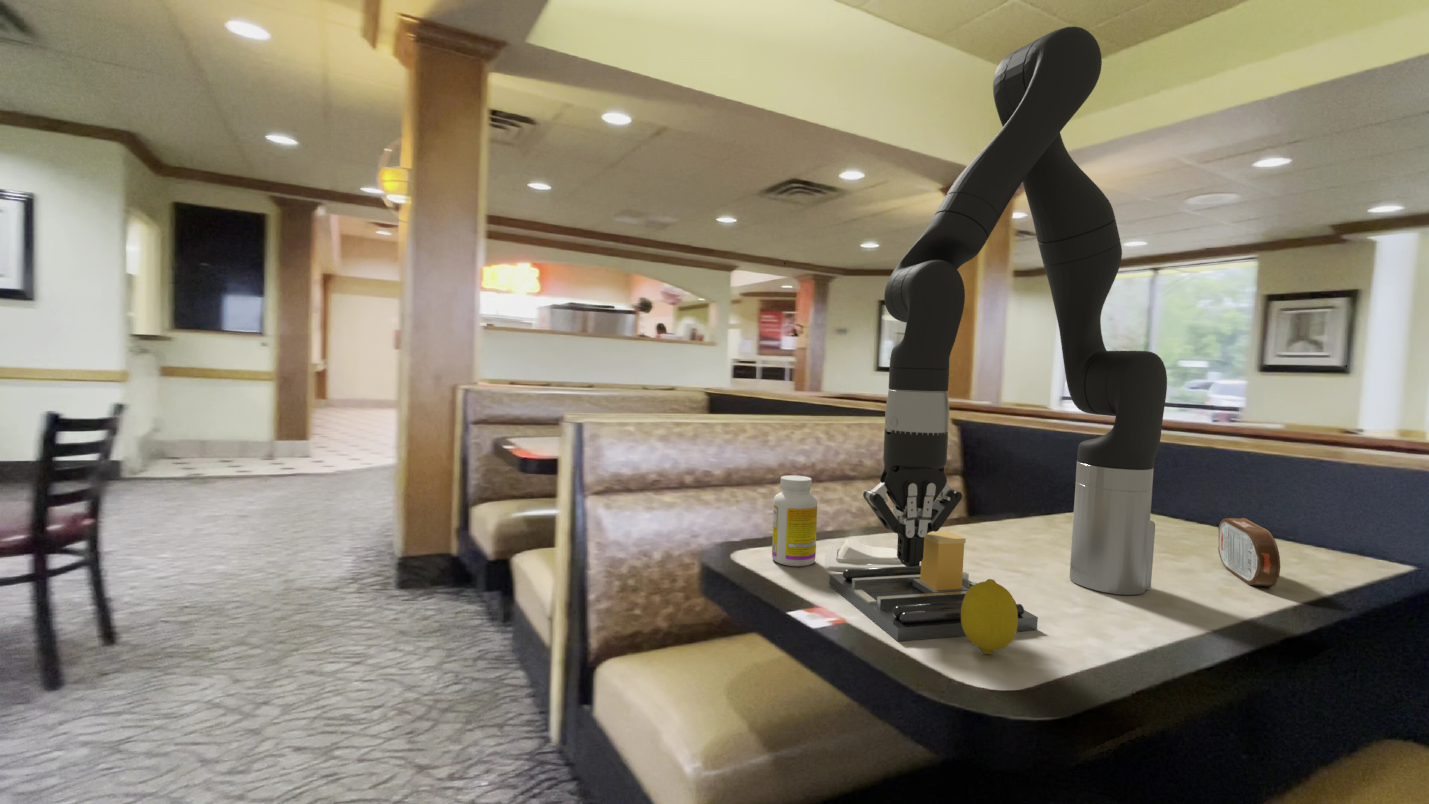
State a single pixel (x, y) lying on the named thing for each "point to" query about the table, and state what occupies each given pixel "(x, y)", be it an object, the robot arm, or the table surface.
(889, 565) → the light switch
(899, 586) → the panel
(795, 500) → the supplement bottle
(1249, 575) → the tin
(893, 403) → the robot arm
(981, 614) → the lemon
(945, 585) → the lever
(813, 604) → the table surface
